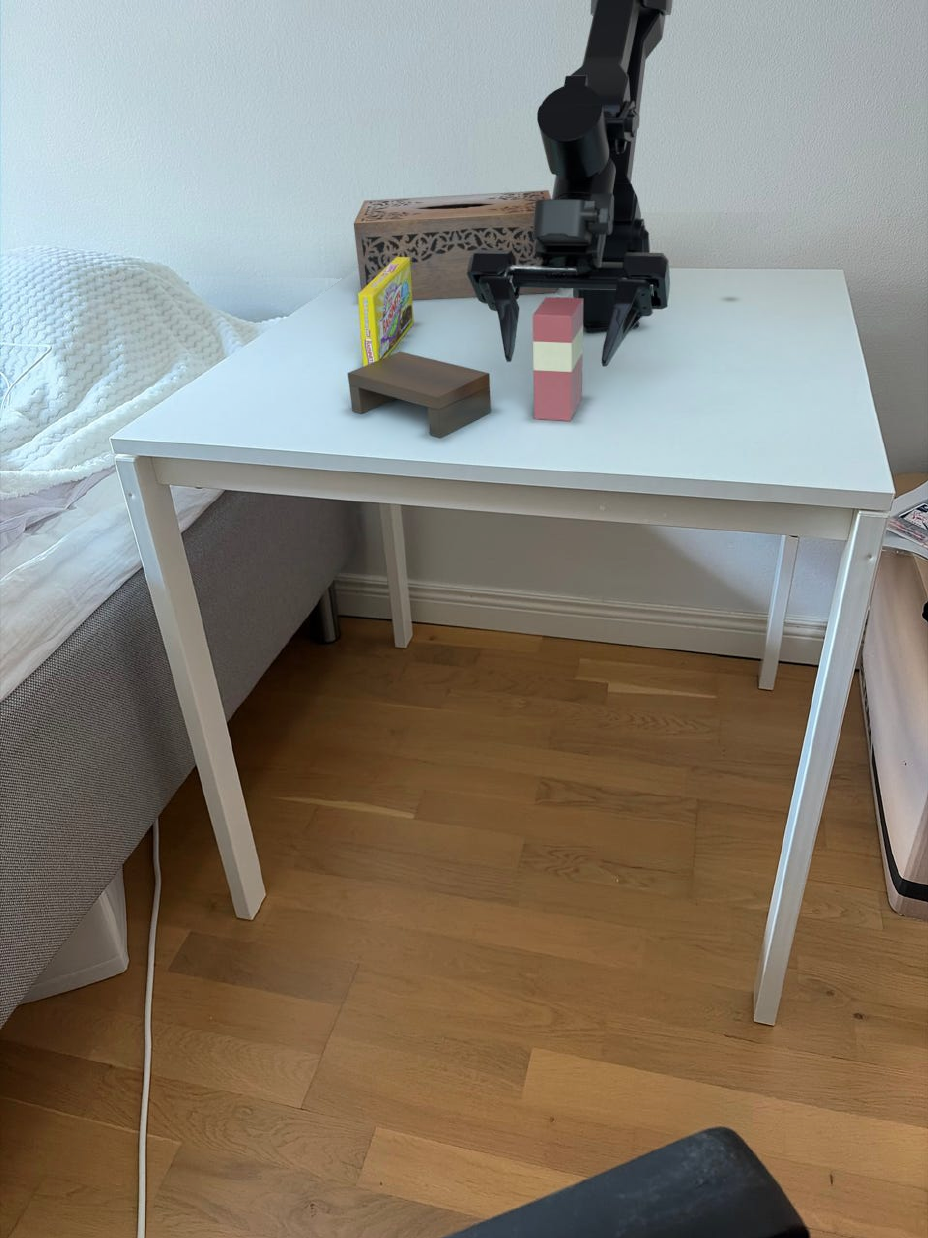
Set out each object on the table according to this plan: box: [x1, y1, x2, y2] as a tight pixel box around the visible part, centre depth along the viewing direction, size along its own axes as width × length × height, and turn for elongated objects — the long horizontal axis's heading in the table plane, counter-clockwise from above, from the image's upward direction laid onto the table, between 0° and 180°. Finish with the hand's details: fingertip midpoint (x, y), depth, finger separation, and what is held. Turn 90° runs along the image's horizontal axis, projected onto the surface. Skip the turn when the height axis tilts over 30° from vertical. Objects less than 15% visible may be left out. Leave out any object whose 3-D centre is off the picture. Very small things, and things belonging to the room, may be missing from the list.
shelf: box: [347, 351, 492, 439], centre depth 94 cm, size 8×12×4 cm, turn 49°
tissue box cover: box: [353, 189, 557, 301], centre depth 131 cm, size 26×14×10 cm, turn 89°
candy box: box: [357, 257, 414, 367], centre depth 110 cm, size 16×2×8 cm, turn 168°
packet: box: [532, 296, 584, 422], centre depth 91 cm, size 6×4×10 cm, turn 163°
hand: (555, 362), depth 90 cm, fingers open, 9 cm apart
